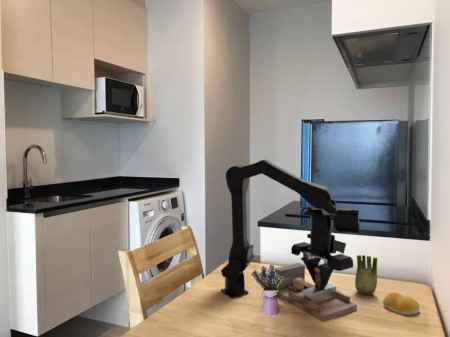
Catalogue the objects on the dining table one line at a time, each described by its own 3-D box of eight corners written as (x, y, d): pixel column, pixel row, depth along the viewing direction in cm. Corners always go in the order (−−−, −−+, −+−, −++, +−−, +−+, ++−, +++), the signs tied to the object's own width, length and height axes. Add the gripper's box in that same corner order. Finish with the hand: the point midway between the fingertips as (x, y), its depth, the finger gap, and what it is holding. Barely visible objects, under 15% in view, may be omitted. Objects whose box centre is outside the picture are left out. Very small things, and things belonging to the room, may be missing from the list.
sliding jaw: (302, 300, 105) (302, 268, 104) (327, 293, 110) (327, 262, 109) (311, 305, 102) (312, 272, 101) (336, 297, 107) (337, 265, 106)
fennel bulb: (378, 294, 113) (379, 256, 112) (369, 298, 110) (370, 259, 109) (361, 288, 118) (362, 251, 117) (352, 292, 115) (353, 254, 114)
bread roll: (412, 319, 98) (412, 304, 97) (379, 307, 105) (379, 294, 104) (424, 309, 103) (425, 296, 103) (392, 299, 110) (393, 286, 110)
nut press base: (270, 292, 115) (270, 269, 114) (301, 284, 121) (301, 261, 121) (323, 321, 96) (324, 293, 95) (356, 309, 103) (357, 283, 102)
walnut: (290, 288, 114) (290, 277, 114) (298, 286, 116) (298, 275, 116) (298, 292, 111) (298, 281, 111) (306, 290, 113) (307, 278, 112)
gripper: (367, 234, 101) (366, 289, 102) (317, 221, 116) (316, 269, 118) (339, 240, 95) (338, 298, 96) (290, 226, 111) (290, 276, 112)
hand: (320, 284), depth 105 cm, fingers closed on sliding jaw, 3 cm apart
